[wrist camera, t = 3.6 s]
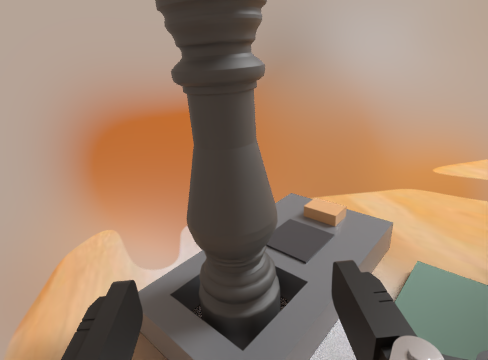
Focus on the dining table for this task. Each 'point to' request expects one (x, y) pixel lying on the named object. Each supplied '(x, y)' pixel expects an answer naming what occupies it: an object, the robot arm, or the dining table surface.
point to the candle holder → (226, 163)
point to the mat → (446, 310)
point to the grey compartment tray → (290, 281)
